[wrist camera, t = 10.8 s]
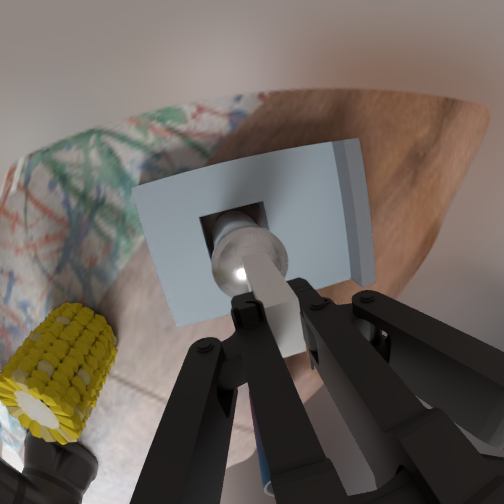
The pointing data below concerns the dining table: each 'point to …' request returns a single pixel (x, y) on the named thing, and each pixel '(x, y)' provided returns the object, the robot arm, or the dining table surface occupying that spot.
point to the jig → (273, 217)
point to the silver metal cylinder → (241, 250)
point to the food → (59, 373)
